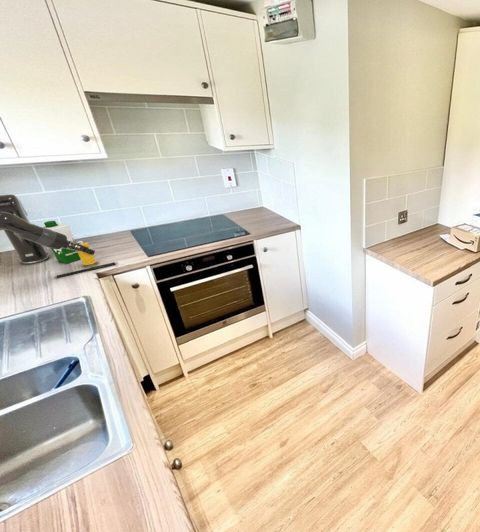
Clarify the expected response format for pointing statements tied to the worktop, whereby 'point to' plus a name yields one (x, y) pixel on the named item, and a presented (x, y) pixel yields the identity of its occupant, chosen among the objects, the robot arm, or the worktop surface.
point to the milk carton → (63, 253)
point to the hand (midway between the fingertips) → (89, 252)
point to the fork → (87, 269)
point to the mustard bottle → (86, 255)
